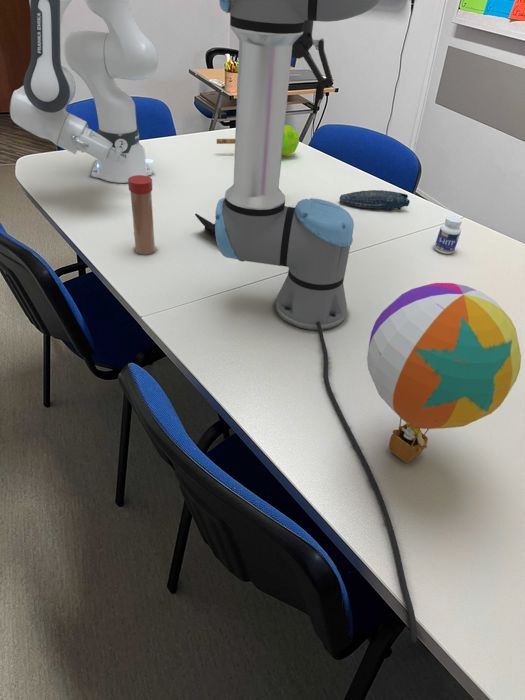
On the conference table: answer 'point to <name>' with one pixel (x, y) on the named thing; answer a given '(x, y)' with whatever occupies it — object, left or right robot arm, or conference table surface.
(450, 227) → the pill bottle
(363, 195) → the fish model
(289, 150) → the decorative tree
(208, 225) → the handheld gaming console
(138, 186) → the lid
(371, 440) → the conference table surface
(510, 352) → the toy
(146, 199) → the jar
